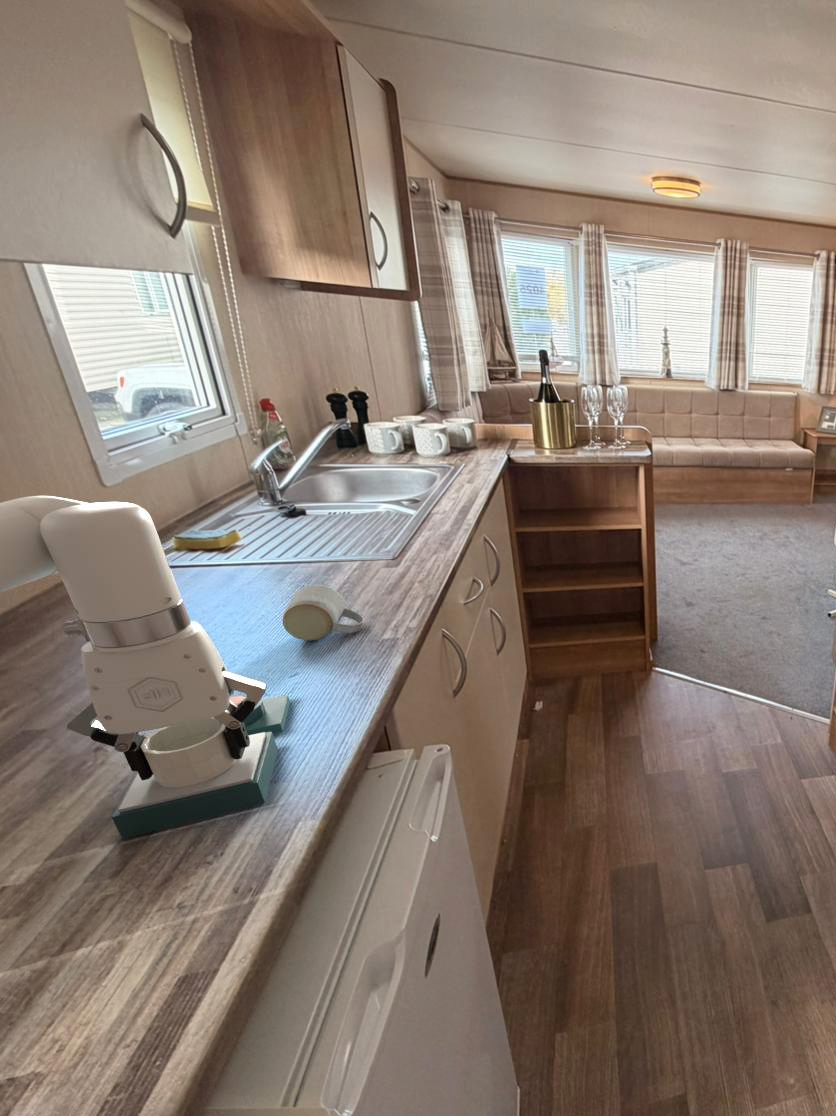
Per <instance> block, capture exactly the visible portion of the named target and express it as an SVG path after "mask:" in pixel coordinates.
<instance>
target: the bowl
mask: <svg viewBox="0 0 836 1116" xmlns="http://www.w3.org/2000/svg"><path fill="white" fill-rule="evenodd" d="M224 729H225V725H223V724H222V723H221V722H219V721H218V720H216V719H215V718H213V717H212V718H208V719H203V720H199V721H194V722H189V723H184V724H179V725H174V726H168V727H163V728H158V729H156V730H154V731H152V733H151V734H149V735H148V736H146V737H147V738H145V739H144V741H143V743H142V744H141V749H142V751H143V754H144V756H145V758H146V760H147V762H148V765H149V767H150V769H151V771H152V774H153V776H154V778H155V779H156V782H157V783H158V784H159V785H161V786H163V787H170V788H176V787H185V786H190V785H194V784H198V783H201V782H204V781H207V780H209V779H211V778H214V777H216V776H218V775H220V774H222V773H223V772H225V771H226V770H228V769H229V768H230V767H232V766H233V765H234V764H235V763H236V761H237V760H235V759H233V758H232V755H231V752H230V750H229V747H228V745H227V742H226V739H225V737H224V734H223V732H224Z"/></svg>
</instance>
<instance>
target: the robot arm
mask: <svg viewBox="0 0 836 1116" xmlns="http://www.w3.org/2000/svg"><path fill="white" fill-rule="evenodd" d="M57 574H59V577H60V579H61V581H62V584H63V585H64V588H65V590H66V592H67V594H68V597H69V598H70V601H71V603H72V606H73V607H74V609H75V612H76V614H77V618H75V619H73V620H71V621H64V622H63V624H62V630H63V632H64V633H65V635H67V636H71V635H72V636H73V635H78V636H80V635H82V636H83V637H84V639H85V641H86V643H84V644H83V645H82V647H81V648H80V656H81V664H82V669H83V674H84V678H85V682H86V686H87V690H88V693H89V696H90V699H91V701H90V702H89V703H87V705H85V706H84V707H83V708H82V709H80V710H79V711H78V712H77V713H76V714H75V715H74V716H73V717H71V719H70V720H69V721H68V723H67V724H66V728H67V730H70V731H72V732H74V733H77V734H80V735H81V736H84V737H89V738H90V740H92V741H94V742H97V743H99V744H103V745H106V746H110V747H113V749H114V750H115V751H116V752H120V753H123V755H124V757H125V759H126V761H127V763H128V766H129V768H130V770H131V771H132V772H136V771H138V774H139V776H140V778H141V780H147V779H150V777H152V775H153V774H152V771H151V769H150V767H149V765H148V762H147V760H146V758H145V756H144V754H143V751H142V749H141V744H142V743H143V741H144V739H145V738H147V737H148V736H145V734H142V735H141V734H139V733H141V732H142V733H143V732H148V731H153V730H159V729H161V728H163V727H168V726H174V725H179V724H184V723H189V722H194V721H199V720H203V719H208V718H212V717H213V718H215V719H216V720H218V721H219V722H221V723H222V724H223V725H225V729H224V732H223V734H224V737H225V739H226V742H227V745H228V747H229V750H230V752H231V755H232V758H233V759H235V760H237V759H241V758H242V756H243V753H244V750H245V747H249V745H250V739H249V736H248V733H247V730H246V728H245V725H244V722H243V721H244V720H245V719H246V718H247V717H248V715H249V714H250V713H251V712H252V711H253V710H254V708H255V706H256V705H257V703H258V702H259V701H260V699H261V700H262V699H263V697H264V695H265V694H266V691H267V688H268V685H267V684H266V683H264V682H262V681H258V680H254V679H252V678H248V677H245V676H242V675H238V674H236V673H232V672H229V671H228V669H227V666H226V664H225V662H224V660H223V658H222V656H221V654H220V653H219V651H218V649H217V647H216V646H215V644H214V643H213V641H212V639H211V638H210V636H209V635H208V633H207V631H206V630H205V629H204V628H203V627H202V625H201V624H200V623H199V622H197V621H192V620H191V618H190V615H189V612H188V611H187V608H186V605H185V603H184V600H183V598H182V595H181V593H180V592H181V591H180V590H179V588H178V583H177V581H176V579H175V577H174V574H173V571H172V568H171V566H170V563H169V560H168V558H167V555H166V552H165V549H164V547H163V545H162V542H161V539H160V537H159V534H158V532H157V528H156V526H155V523H154V521H153V519H152V517H151V515H150V513H149V512H148V511H147V510H146V509H145V508H143V507H142V506H140V505H138V504H135V503H130V502H122V501H104V502H101V501H100V502H91V503H89V502H85V501H79V500H75V499H71V498H70V499H69V498H64V497H59V496H53V495H31V496H23V497H18V498H14V499H10V500H5V501H2V502H0V594H1V593H4V592H7V591H10V590H13V589H15V588H18V587H20V586H23V585H27V584H30V583H32V582H35V581H37V580H40V579H43V578H47V577H50V576H54V575H57ZM235 691H236V692H240V693H243V694H245V696H246V697H245V698H244V700H243V701H242V702H241V703H240V704H239V705H236V704H235V703H233V702H232V701H231V700H230V698H229V697H232V696H233V694H234V692H235ZM96 718H97V719H98V720H96Z"/></svg>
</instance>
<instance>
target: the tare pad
mask: <svg viewBox="0 0 836 1116" xmlns="http://www.w3.org/2000/svg"><path fill="white" fill-rule="evenodd" d="M246 696H247V695H244V697H246ZM290 706H291V701H290V697H289V695H288V694H284V695H279V696H273V697H268V698H261V699H260V701H259V702H258V703H257V705H256V706H255V708H254V710H253V711H252V712H251V713H250V714H249V715H248V717H247V718H246V719H245V720H244V721H243V722H244V725H245V728H246V730H247V733H248V735H253V734H258V733H263V732H265V733H267V732H272V734H278V733H283V732H284V729H285V725H286V721H287V717H288V713H289V710H290Z"/></svg>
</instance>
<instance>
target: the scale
mask: <svg viewBox="0 0 836 1116" xmlns="http://www.w3.org/2000/svg"><path fill="white" fill-rule="evenodd" d="M248 736H249V739H250V745H249V747H245V750H244V753H243V756H242V758H241V759H237V761H236V763H235V764H234V765H233V766H232V767H230V768H229V769H228V770H226V771H225V772H223V773H222V774H220V775H218V776H216V777H214V778H211V779H209V780H207V781H204V782H201V783H198V784H194V785H190V786H185V787H176V788H170V787H163V786H161V785H159V784H158V783H157V782H156V779H155V778H154V776H153V775H152V777H150V779H147V780H141V778H140V776H139V774H138V771H135V774H134V775H133V777H132V779H131V781H130V782H129V784H128V786H127V788H126V790H125V792H124V794H123V795H122V797H121V798H120V801H119V802H118V805H117V806H116V808H115V810H114V812H113V814H112V815H111V820H112V822H113V824H114V826H115V828H116V830H117V831H118V834H119V836H120V838H121V839H127V838H131V837H134V836H138V835H139V836H140V835H143V834H146V833H150V832H154V831H159V830H163V829H167V828H170V827H174V826H178V825H182V824H187V823H191V822H194V821H198V820H203V819H206V818H211V817H215V816H219V815H221V814H226V813H230V812H234V811H239V810H242V809H246V808H250V807H254V806H258V805H262V804H265V803H266V801H267V798H268V797H267V796H268V792H269V788H270V784H271V781H272V776H273V773H274V769H275V765H276V760H277V757H278V753H279V749H278V746H277V742H276V740H275V736H274V735H273V734H272V732H267V733H265V732H263V733H258V734H253V735H248Z"/></svg>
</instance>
